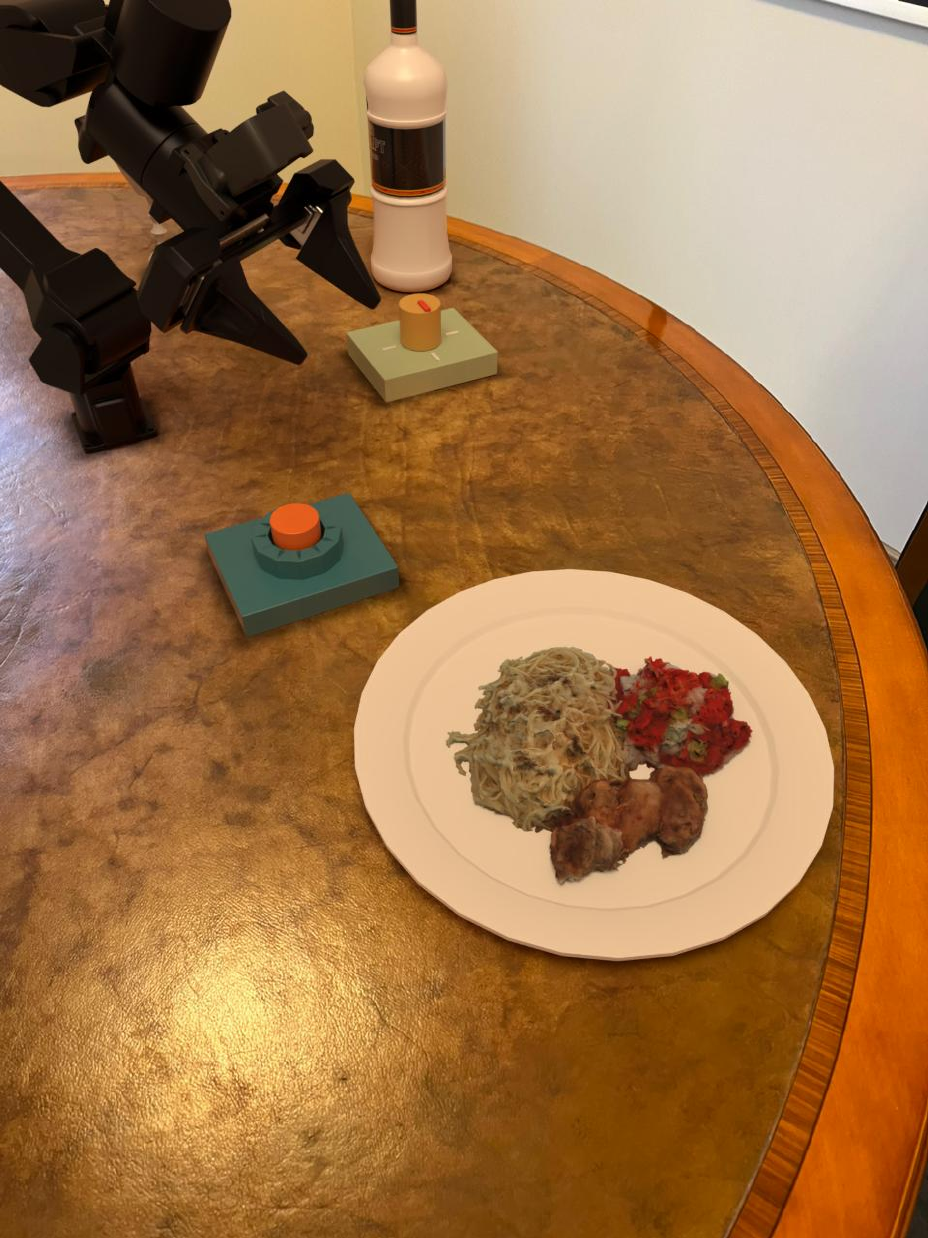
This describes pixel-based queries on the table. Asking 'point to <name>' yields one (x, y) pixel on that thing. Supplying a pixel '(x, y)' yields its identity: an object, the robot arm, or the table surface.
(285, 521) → the button
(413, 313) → the lock dial
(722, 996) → the table surface
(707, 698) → the plated food
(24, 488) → the table surface
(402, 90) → the vodka
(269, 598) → the teal button base
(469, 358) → the panel
